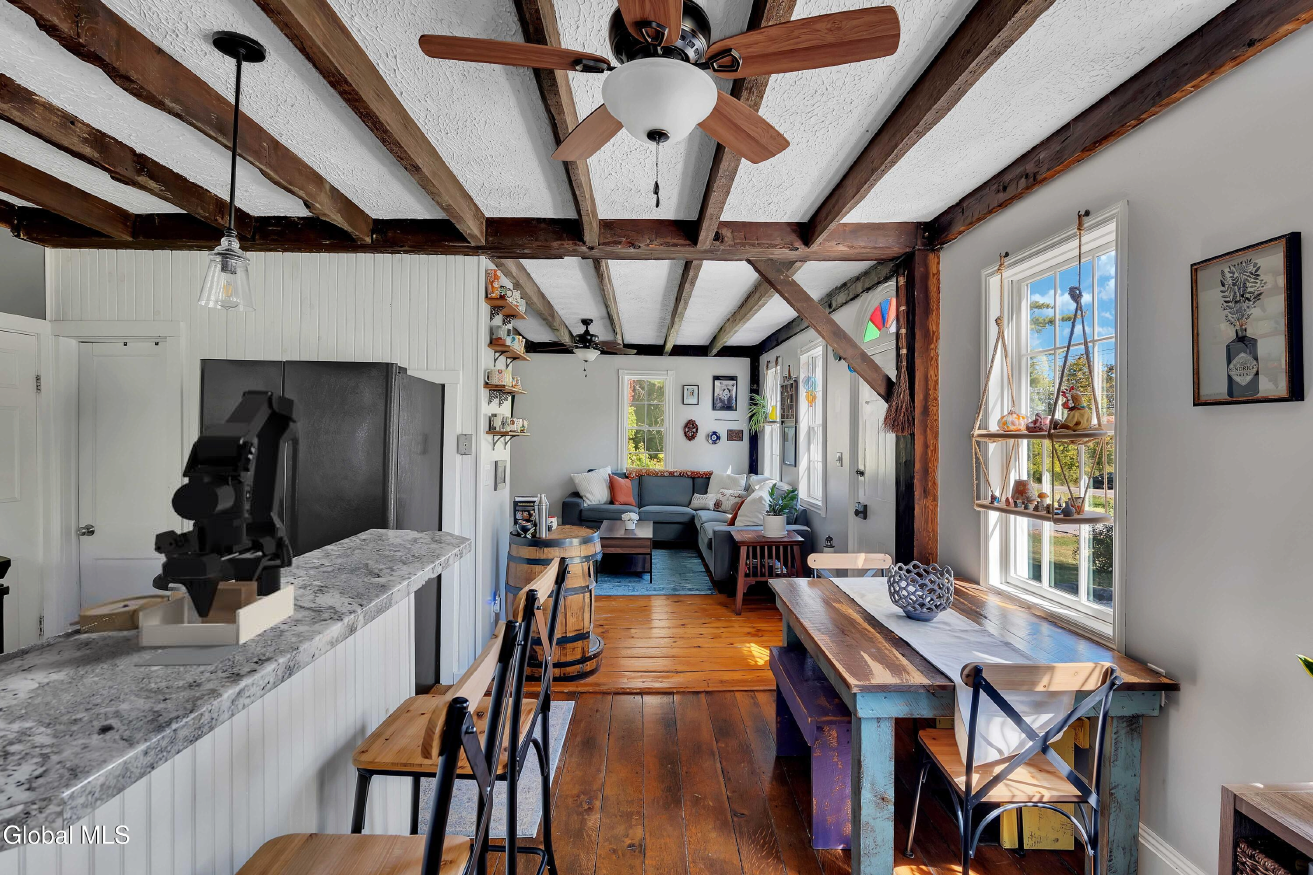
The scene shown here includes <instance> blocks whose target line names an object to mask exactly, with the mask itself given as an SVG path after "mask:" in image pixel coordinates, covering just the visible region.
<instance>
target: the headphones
mask: <svg viewBox="0 0 1313 875" xmlns="http://www.w3.org/2000/svg"><path fill="white" fill-rule="evenodd" d="M183 595H185V594H184V593H183V592H181V591H179V590H171V591H170V595H169V594H166V593H164V594H163V593H162V594H161V593H157V594H156V593H155V594H145V595H138V596H131V597H126V598H125V597H124V598H120V599H116V600H111V601H107V602H102V603H100V604H96V605H92V606H90V607H86V608H84V609H82V610H80V611H79V612H78V618H79V620H74V621H72V622H69V626H70V627H72V626H78V625H79V628H80V629H81V628H83V627H86V626H89V625H92V624H94V625H92V626H89V627H87V628H85V629H82V630H79V632H80V633H81V634H84V633H85V632H90V633H91V632H92V633H107V632H108V633H109V632H117V631H124V630H132V629H135V628H138V629H139V612H141V611H144V610H146V609H149V608H152V607H154V606H157V605H159V604H162V603H165V602H167V601H170V600H172V599H175V598H178V597H180V596H183ZM113 616H114V617H113ZM106 618H108V619H106ZM103 619H105V620H103ZM95 623H97V624H95ZM86 629H87V630H86ZM81 631H82V632H81Z"/></svg>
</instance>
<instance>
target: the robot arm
mask: <svg viewBox="0 0 1313 875" xmlns="http://www.w3.org/2000/svg"><path fill="white" fill-rule="evenodd" d="M301 415H302V410H301V406H300V405H299V404H298V403H297V402H296V401H295V400H294V399H292V398H290V397H286V396H284V395H281V394H279V393H278V392H277V391H274V390H272V389H248V390H244V391H243V392H242V395H241V400H240V401H239V402H238V404H237V405H236V406H235V408H234V409H233V410H232V412H231V413H230V414H229V416H228V417H227V418H226V419H225V421H224V422H223V423H222V424H221V425H217V426H214V427H211V428H208V429H206V430H205V431H204V432H202V433H201V434H200V435H199V436H198V437H197V439H196V440H195V441H194V442H193V444H192V447H191V450H190V452H189V455H188V458H187V461H186V463H185V466H184V469H183V472H182V478H184V479H185V478H186V479H188V482H186V483H184V484H182V485H180V487H178V488H177V489H176V491H175V492H174V493H173V496H172V498H171V507H172V509H173V512H174V513H176V515H177V516H179V517H180V518H181V519H183V520H186V521H191V522H193V523H192V529H191V530H188V531H184V532H180V533H178V532H177V531H175V530H174V529H171V530H167V531H166V530H165V531H163V532H160V533H156V534H155V538H154V552H155V553H157V554H160V555H163V556H164V558H165V560H164V561H163V562H162V563H161V577H162V578H168V580H170V581H171V582H177V583H178V584H180V585H182V586H183V587H184V588H185V590H186V592H187V594H189V596H190V598H191V600H192V602H193V605H194V607H195V609H196V612H197V614H198V616H199V617H200V618H206V617H208V615H209V613H210V610H211V608H212V604H213V601H214V598H215V595H216V592H217V588H218V585H219V582H221V579H222V575H223V572H219V571H220V570H221V568H222V564H223V563H222V562H227V563H228V564H229V565H230V566H231V567H232V571H233V575H234V576H233V578H234V582H257V597H267V596H269V595H271V594H273V593H275V592H277V591H279V590H281V589H282V569H285V568H289V567H293V562H294V561H293V560H294V559H293V558H294V557H293V551H292V547H291V544H290V543H289V539H288V537H287V535H286V532H287V531H286V528H285V526H284V525H283V523H282V521H281V520H280V518H279V516H278V515H279V514H278V513H279V505H280V496H281V489H282V487H281V486H282V477H283V468H284V467H283V466H284V459H285V449H286V445H287V443H288V442H289V441H290V440H291V439H292V438H293V437H294V435H296V433H297V427H298V424H299V423H300V422H301V419H302V418H301V417H302V416H301ZM255 438H256V440H257V443H256V444H255V441H254V440H255ZM252 468H253V475H252V482H251V485H252V486H251V491H250V492H251V493H250V500H249V508H248V509H249V510H248V514H247V513H246V512H247V510H246V509H247V481H248V476H247V475H248V473H250V472H252Z"/></svg>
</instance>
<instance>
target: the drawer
mask: <svg viewBox="0 0 1313 875" xmlns="http://www.w3.org/2000/svg"><path fill="white" fill-rule="evenodd" d="M294 594H295V585H294V584H290V585H288V586H285V587H283V588H281V590H279V591H277V592H275V593H273V594H271V595H269V596H267V597H257V601H256V602H254V603H252V604H250V605H248V606H246V607H244V608H242V609H240V610H238V611H236V624H187V615H188V593H186V594H184V595H183V596H180V597H178V598H175V599H172V600H171V599H169V600H170V601H167V602H165V603H162V604H159V605H157V606H154V607H152V608H149V609H146V610H144V611H141V612H139V628H138V647H172V646H218V645H243V644H244V643H245V642H247V641H249V640H250V639H252V638H254V637H255V636H257V635H259V634H261V633H263V632H265V631H266V630H268V629H269V628H271V627H273V626H275V625H276V624H278V623H280V622H282V621H284V620H285V619H287V618H289V617H290V616H292V615H294V608H295V606H294V602H295V601H294V600H295V598H294Z"/></svg>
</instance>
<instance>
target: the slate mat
mask: <svg viewBox="0 0 1313 875" xmlns="http://www.w3.org/2000/svg"><path fill="white" fill-rule="evenodd" d="M244 647H245V645H244V644H240V645H204V646H169V647H168V648H166V649H164V650H162V651H159V652H158V653H156V654H154V655H152V656H150V657H148V658H145V659H144V660H141V661H139V662H137V663H135V664H134V665H133V667H165V666H167V667H168V666H169V667H170V666H171V667H172V666H213V665H215V664H217V663H219V662H221V660H223V659H225V658H227V657H228V656H230V655H233V653H235V652H237V651H238V650H240V649H242V648H244Z"/></svg>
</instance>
